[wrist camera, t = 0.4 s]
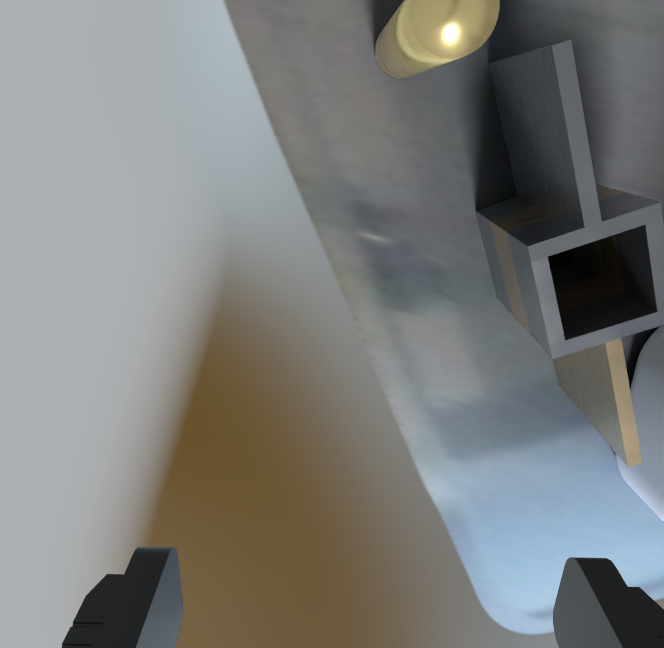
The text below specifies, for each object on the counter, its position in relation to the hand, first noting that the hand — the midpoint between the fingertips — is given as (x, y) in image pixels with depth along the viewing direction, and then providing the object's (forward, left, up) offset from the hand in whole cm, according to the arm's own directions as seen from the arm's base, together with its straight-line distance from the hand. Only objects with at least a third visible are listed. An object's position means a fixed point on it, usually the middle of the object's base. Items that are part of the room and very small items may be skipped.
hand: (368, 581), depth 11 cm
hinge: (-6, +11, -26) cm, 29 cm away
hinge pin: (-13, -2, -26) cm, 29 cm away
